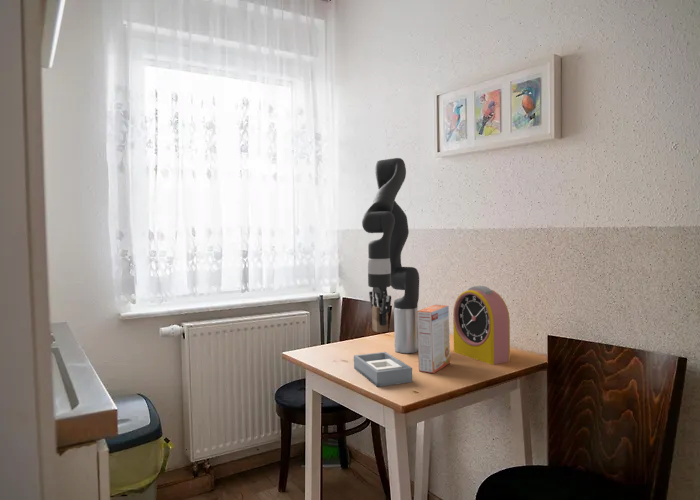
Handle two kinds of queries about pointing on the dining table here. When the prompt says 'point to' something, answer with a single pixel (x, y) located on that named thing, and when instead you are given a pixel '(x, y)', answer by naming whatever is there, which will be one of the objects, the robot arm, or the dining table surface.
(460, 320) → the alarm clock
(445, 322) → the cracker box
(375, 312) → the peg
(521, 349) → the dining table surface
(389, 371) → the walled box
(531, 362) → the dining table surface
